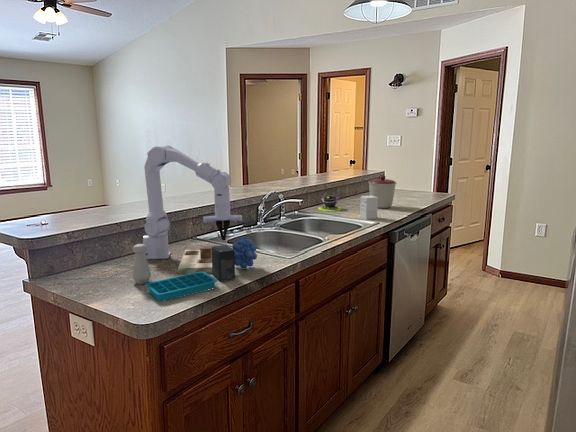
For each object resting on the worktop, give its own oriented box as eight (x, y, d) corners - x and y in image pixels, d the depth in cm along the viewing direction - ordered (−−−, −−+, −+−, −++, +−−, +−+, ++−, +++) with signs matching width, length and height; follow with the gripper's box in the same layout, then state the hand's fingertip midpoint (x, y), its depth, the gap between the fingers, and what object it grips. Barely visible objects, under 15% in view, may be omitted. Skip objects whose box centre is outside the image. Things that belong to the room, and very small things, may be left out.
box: (235, 279, 145) (234, 249, 143) (219, 281, 142) (218, 251, 140) (227, 272, 152) (226, 243, 150) (212, 274, 149) (211, 246, 147)
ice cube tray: (144, 292, 134) (144, 283, 133) (203, 279, 146) (202, 270, 145) (158, 304, 125) (157, 295, 124) (219, 289, 137) (219, 280, 136)
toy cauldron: (314, 209, 269) (314, 192, 266) (324, 205, 281) (324, 189, 279) (336, 212, 261) (336, 194, 259) (345, 208, 274) (345, 191, 272)
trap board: (178, 273, 150) (177, 268, 149) (185, 254, 172) (184, 250, 172) (212, 272, 151) (212, 267, 151) (215, 253, 174) (214, 249, 173)
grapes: (239, 275, 148) (238, 242, 146) (227, 270, 153) (226, 238, 151) (264, 268, 156) (263, 236, 154) (252, 263, 161) (252, 233, 159)
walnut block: (200, 258, 160) (200, 248, 159) (201, 255, 164) (200, 245, 163) (211, 258, 161) (210, 248, 160) (211, 255, 165) (211, 245, 164)
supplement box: (370, 216, 248) (371, 195, 246) (377, 219, 241) (378, 197, 239) (359, 217, 246) (360, 195, 243) (365, 219, 239) (366, 197, 236)
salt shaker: (133, 286, 138) (130, 248, 135) (132, 280, 143) (129, 243, 140) (152, 283, 140) (149, 246, 137) (150, 278, 145) (147, 241, 143)
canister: (363, 204, 285) (365, 173, 281) (389, 204, 287) (391, 173, 283) (371, 210, 267) (373, 176, 263) (399, 209, 269) (401, 176, 265)
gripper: (202, 207, 155) (204, 243, 157) (242, 206, 157) (243, 241, 160) (202, 204, 162) (204, 238, 164) (241, 202, 164) (241, 236, 167)
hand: (223, 239), depth 163 cm, fingers closed
